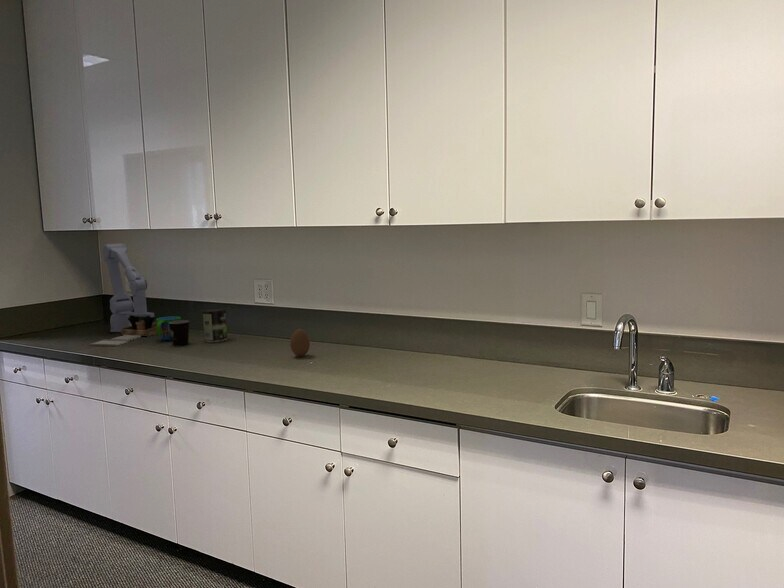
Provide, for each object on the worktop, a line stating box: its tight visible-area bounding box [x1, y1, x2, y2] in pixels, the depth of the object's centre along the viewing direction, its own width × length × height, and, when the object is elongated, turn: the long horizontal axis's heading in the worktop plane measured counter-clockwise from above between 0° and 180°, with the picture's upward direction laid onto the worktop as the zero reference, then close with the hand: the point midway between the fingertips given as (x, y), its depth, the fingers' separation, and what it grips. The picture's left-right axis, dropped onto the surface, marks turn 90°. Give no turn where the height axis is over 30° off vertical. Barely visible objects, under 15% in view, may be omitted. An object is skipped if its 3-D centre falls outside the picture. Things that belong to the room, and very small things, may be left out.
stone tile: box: [110, 335, 142, 342], centre depth 288 cm, size 9×9×1 cm
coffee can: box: [201, 307, 228, 343], centre depth 279 cm, size 10×10×14 cm
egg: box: [289, 328, 311, 357], centre depth 242 cm, size 8×8×11 cm
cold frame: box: [120, 321, 157, 338], centre depth 300 cm, size 16×11×5 cm
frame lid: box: [88, 339, 130, 347], centre depth 279 cm, size 14×9×1 cm, turn 75°
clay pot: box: [135, 320, 146, 330], centre depth 299 cm, size 6×6×6 cm
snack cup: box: [155, 315, 182, 342], centre depth 284 cm, size 16×10×10 cm
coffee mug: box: [169, 319, 190, 346], centre depth 271 cm, size 12×9×10 cm
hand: (142, 331), depth 300 cm, fingers open, 7 cm apart
